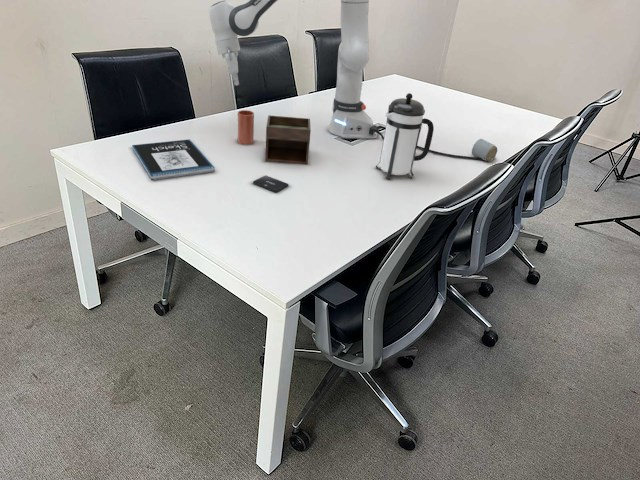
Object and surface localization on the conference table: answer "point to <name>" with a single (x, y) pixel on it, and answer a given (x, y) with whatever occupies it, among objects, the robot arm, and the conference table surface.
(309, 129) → the storage cube
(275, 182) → the solid state drive
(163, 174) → the sketchbook
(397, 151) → the coffee press
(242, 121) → the tumbler
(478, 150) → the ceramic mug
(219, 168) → the conference table surface
